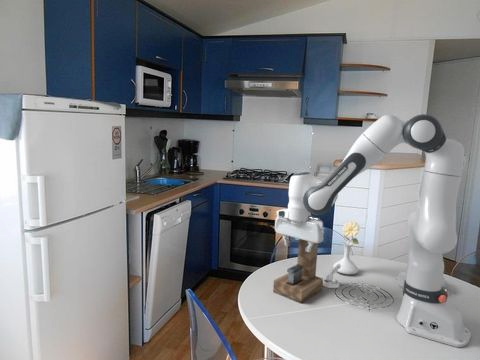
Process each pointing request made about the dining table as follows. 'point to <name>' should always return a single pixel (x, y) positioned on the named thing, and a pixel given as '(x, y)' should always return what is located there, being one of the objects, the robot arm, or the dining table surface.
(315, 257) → the wooden l-shaped post
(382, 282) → the dining table surface
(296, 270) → the grey rectangular block
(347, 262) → the flower in vase
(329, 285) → the white ring with bar
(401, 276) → the food container
